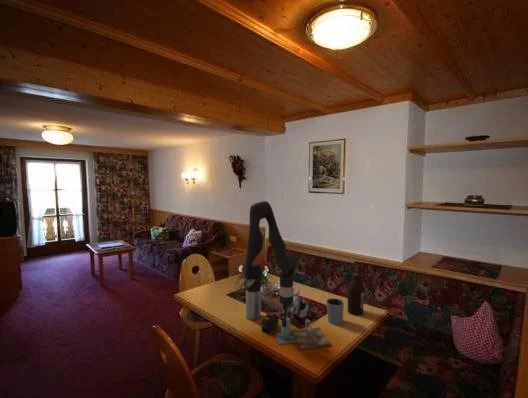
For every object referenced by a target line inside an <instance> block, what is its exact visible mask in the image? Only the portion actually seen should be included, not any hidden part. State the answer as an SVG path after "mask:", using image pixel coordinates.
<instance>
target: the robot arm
mask: <svg viewBox="0 0 528 398" xmlns="http://www.w3.org/2000/svg"><path fill="white" fill-rule="evenodd" d="M264 219H265V220H266V222H267V225H268V241H269V244H270V246H271V248H272V251H273V252H274V258H275V263H276V265H277V268H278V269H279V270H280V271H282V273H281V274H280V276H279V289H278V290H279V291H278V292H279V295H278V301H279V303H280V304H281V305H282V306H281V308H280V322H281V321H282V327H286V320H287V317H288V318H290V319H291V313H292V312H291V304H292V303H293V295H294V294H295V292H294V291H295V290H294V276H295V271H296V268H297V261H296V258H295V257H294V256H293V255H291V254H289V255H286V251H287V245H286V243H285V241H284V239H283V237H282V235H281V232H280V230H279V228H278V225H277V220H276V217H275V213H274V211H273V208H272V206H271V204H270V202H268V201H266V200H263V201H259V202H256V203H255V202H254V203H253V204H251V205H250V208H249V224H248V225H249V228H248V237H247V244H246V255H245V260H244V263H243V264H244V265H243V268H242V272H243V278H244V279H245V280H246V281H247V280H250V282H248V283H247V284H246V285H245V317H246V319H248V320H250V321H255V320H259V319H260V318H261V317H262V275H263V273H262V272H263V270H262V266H261V263H258V262H255V263H254V260H255V259H256V258H257V257H258V256H259V254H260V253H261V252H262V251H263V249H264V241H265V238H264V235H263V232H262V231H261V230H260V223H261V220H264ZM251 280H252V281H251ZM283 317H284V318H283Z"/></svg>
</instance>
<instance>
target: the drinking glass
mask: <svg viewBox="0 0 528 398" xmlns="http://www.w3.org/2000/svg"><path fill="white" fill-rule="evenodd" d="M325 303H326V311H327V312H326V313H327V322H328V323H329V324H331V325H335V326H339V325H342V324H343V322H344V306H345V305H344V304H345V302H344V301H343V300H342V299H340V298H335V297H334V298H333V297H332V298H328V299H326V302H325Z"/></svg>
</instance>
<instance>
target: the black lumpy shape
mask: <svg viewBox="0 0 528 398" xmlns="http://www.w3.org/2000/svg"><path fill="white" fill-rule="evenodd" d="M264 316H265V318H263V319H261V322H260V324H261V326H260V329H261V332H262V333H265V334H270V333H272V332H273V330H275V327H276V326H277V325H278V324H279V321H280V319H279V317H278V315H277V314H275V313H273V314H266V315H264Z"/></svg>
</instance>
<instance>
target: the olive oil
mask: <svg viewBox="0 0 528 398" xmlns="http://www.w3.org/2000/svg"><path fill="white" fill-rule="evenodd" d="M365 289H366V288H365V286H364V284H363V283H362V282H361V281H360V274H359V273H356V272H354V273H353V277H352V280H351V281H349V283H348V284H347V288H346V291H347V292H346V294H347V313H348V314H350V315H353V316H361V315H363V313H364V305H365V304H364V303H365V292H366V291H365Z"/></svg>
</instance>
